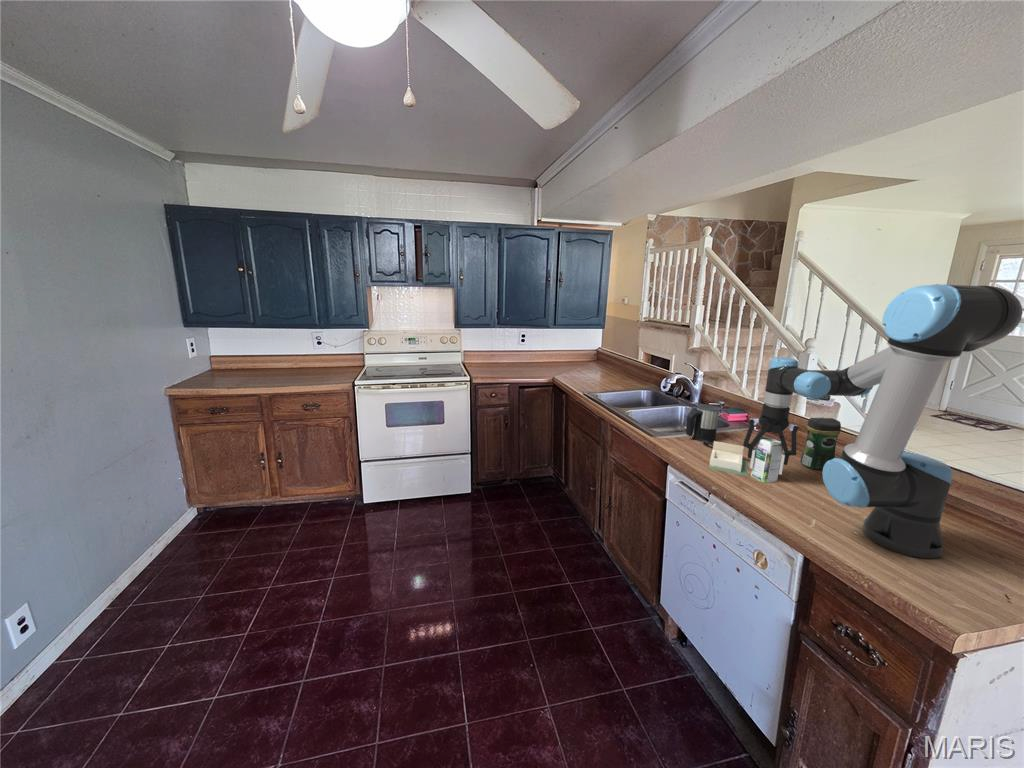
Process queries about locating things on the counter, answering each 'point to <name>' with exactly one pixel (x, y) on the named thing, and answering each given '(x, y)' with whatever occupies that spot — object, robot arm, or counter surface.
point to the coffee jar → (820, 442)
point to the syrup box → (767, 460)
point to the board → (743, 471)
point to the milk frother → (703, 423)
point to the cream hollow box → (726, 456)
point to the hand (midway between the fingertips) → (765, 469)
